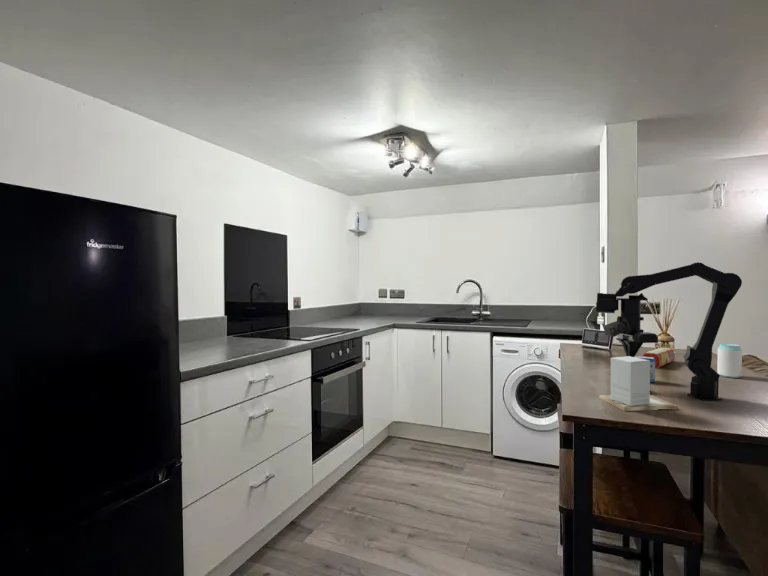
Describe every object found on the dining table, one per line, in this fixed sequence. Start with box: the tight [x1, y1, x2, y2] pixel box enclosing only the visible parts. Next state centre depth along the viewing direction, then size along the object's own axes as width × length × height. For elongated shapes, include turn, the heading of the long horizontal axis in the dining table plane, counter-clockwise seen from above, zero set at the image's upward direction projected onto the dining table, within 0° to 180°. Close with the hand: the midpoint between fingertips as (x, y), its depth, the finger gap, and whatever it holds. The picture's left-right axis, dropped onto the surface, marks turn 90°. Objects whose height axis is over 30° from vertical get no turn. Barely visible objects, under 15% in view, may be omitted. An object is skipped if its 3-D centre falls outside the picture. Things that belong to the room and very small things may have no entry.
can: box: [716, 343, 743, 379], centre depth 158 cm, size 7×7×12 cm
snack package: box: [641, 347, 675, 369], centre depth 180 cm, size 21×7×7 cm, turn 131°
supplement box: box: [610, 355, 651, 406], centre depth 123 cm, size 7×7×13 cm
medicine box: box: [635, 355, 656, 383], centre depth 152 cm, size 8×4×9 cm, turn 68°
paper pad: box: [598, 394, 679, 412], centre depth 125 cm, size 16×12×1 cm
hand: (630, 360), depth 140 cm, fingers closed
